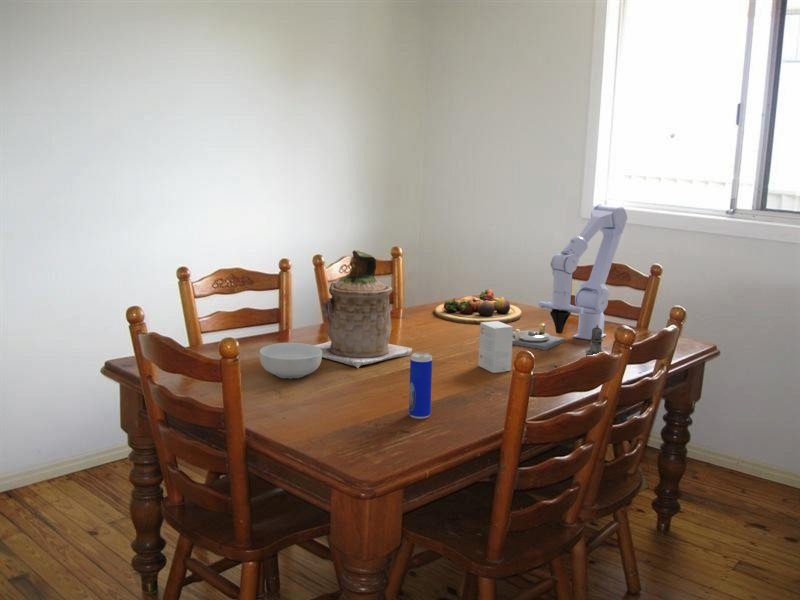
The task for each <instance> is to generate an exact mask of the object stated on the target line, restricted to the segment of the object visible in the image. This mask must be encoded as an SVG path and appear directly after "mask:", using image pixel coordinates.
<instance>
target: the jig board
mask: <svg viewBox="0 0 800 600" xmlns="http://www.w3.org/2000/svg"><path fill="white" fill-rule="evenodd" d="M520 331H521V330H520V329H518V328H516V329H515V331H514V332H515V336H513V340H512V345H513V344H514V346H519V345H520V347H524V346H525V347H524V348H530V347H531V349H535V348H537V349H536V350H541V349H542V350H543V351H547V350H549V348H550V349H552V348H554V347H556V346H558V345H560V344H562V343H564V342H565V337H562V336H561V337H559V336H554V335H550V339H549V340H548V341H544V342H529V341H523V340H519V339H520Z"/></svg>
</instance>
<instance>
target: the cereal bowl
mask: <svg viewBox="0 0 800 600" xmlns="http://www.w3.org/2000/svg"><path fill="white" fill-rule="evenodd" d="M313 345H314V344H310V343H301V342H278V343H273V344H269V345H264V346H263V347H261V348H260V349H259V361H260V364H261V365H262V366H261V367H262V368H263V369H264V370H266V371H267V372H268V373H270V374H272V375H275V376H276V377H278V378H280V379H285V378H289V379H288V380H291V379H292V378H297V379H301V378H303V377H305V376H307V375H310V374H312V373H314V372H315V371H316V370H317V369H318V368H319V367H320V365H321V364H322V363H321V362H322V358H323V357H322V350H321V349H320V348H318V347H316V346H313ZM300 377H301V378H300Z"/></svg>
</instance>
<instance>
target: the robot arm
mask: <svg viewBox="0 0 800 600" xmlns="http://www.w3.org/2000/svg"><path fill="white" fill-rule="evenodd" d="M627 220H628V214H627V212H626V209H625V208H624V207H623V206H616V205H615V206H614V205H613V206H612V205H607V204H606V205H605V204H604V205H603V204H596V206H594V208H593V209H592V210H591V212H590V219H589V220H588V222H587V223H586V225H585V227H584V228H583V229H582V231H581V233H580V234H578V236H573V237H572V238H571V239H570V240H569V242H568V243H567V244H566V245H565V246H564V248H563V249H562V251H561V252H560V253H556V254H555V255H553V256H552V258H551V262H550V269H551V270H552V276H553V280H552V281H553V285H552V299H551V300H552V301H539V302H538V309H545V310H551V311H550V312H549V313H550V316H551V318H552V321H553V324H554V328H555V334H562V333H563V331H564V328H565V325H566V323H567V320H568V318H570V316H571V313H572V314H578V328H577V333H576V334H574V335H573V336H572V337H573V338H577V339H582V340H587V341H588V340H589V341H591V340H590V339H591V338H592V329H593V328H595V327H597V325H598V327H599V328H600V329H601V330H602V338H604V337H605V336H607V334H606V333H604V331H605V329H604V328H605V314H604V312H605V311H606V309H607V307H608V304H609V296H610V290H609V289H608V288H607V286H606V283H607V279H608V277H609V272H610V271H611V267H612V264H613V261H614V260H615V259H614V258H615V255H616V252H617V249H618V246H619V243H620V241H621V237H622V234H623V233H624V229H625V226H626V223H627ZM599 231H600V232H601V233H602V234H603V237H602V240H601V243H600V246H599V248H598V252H597V254H596V258H595V260H594V263H593V266H592V269H591V273H590V276H589V278H588V280H586V281H584V282H583V283H582V284H581V285H580V287H579V289H578V290H577V292H576V293H575V295H574V296H575V297H574V303H575V305H573V304H571V299H572V298H571V297H572V284H573V273H574V272H575V271H576V270H577V267H578V263H579V262H580V258H581V257H582V256H583V255H584V253H585V252H586V251H587V249H589V248H588V247H589V244H588V243H589V242H590V241H591V239H592V238H594V236H595V235H596V234H597V233H598V232H599Z"/></svg>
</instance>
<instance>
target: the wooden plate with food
mask: <svg viewBox="0 0 800 600" xmlns="http://www.w3.org/2000/svg"><path fill="white" fill-rule="evenodd" d="M494 294H495V293H494V291H493V290H492V289H485V290H484V291H481V292H480V294H479V295H478V298H477V297H475V296H471V295H467V296H464V297H462V298H460V299H458V300H456V299H457V298H456V297H455V298H453V299H448V300H446V301H444V303H441V304H439V305H437V306H436V307H435V309H434V315H435V316H436V315H437V316H436V317H438V318H440V319H442V318H443V319H442V320H445V319H446V321H448V320H450V321H449V322H453V321H455V322H454V323H458V322H463V323H462V324H466V323H472V324H471V325H480V323H481V322H493V321H499V322H502V323H504V324H509V323H512V321H513V322H516V321H517V320H519V319H520V318H521V317H522V315H523V312H522V310H521V309H520V308H519V307H518V306H515V305H513V304H510V302H509V300H508V299H507V298H506V297H504V296H501V297H494ZM515 320H516V321H515ZM508 322H509V323H508Z"/></svg>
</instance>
